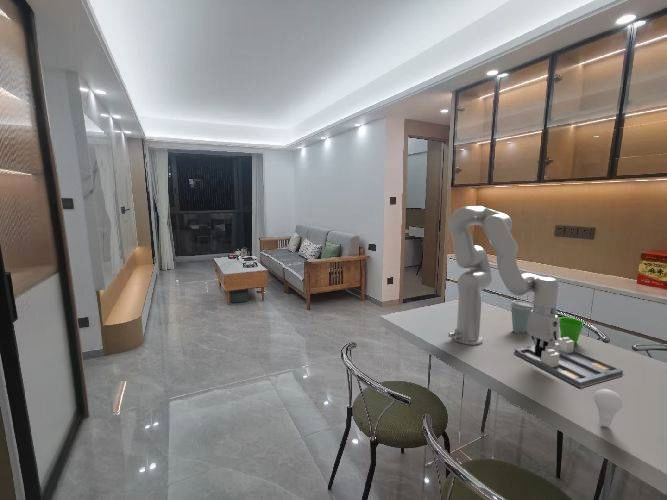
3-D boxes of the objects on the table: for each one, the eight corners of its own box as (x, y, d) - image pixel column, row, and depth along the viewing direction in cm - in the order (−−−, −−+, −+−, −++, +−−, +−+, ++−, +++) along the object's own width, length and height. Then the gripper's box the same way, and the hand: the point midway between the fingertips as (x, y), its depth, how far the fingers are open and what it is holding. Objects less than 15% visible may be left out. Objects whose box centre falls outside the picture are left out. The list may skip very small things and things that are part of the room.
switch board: (579, 389, 113) (580, 382, 112) (514, 355, 137) (514, 349, 136) (621, 377, 120) (622, 370, 120) (553, 346, 144) (553, 341, 144)
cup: (585, 350, 141) (588, 325, 139) (561, 348, 143) (564, 324, 141) (574, 341, 150) (577, 317, 148) (552, 339, 151) (554, 316, 150)
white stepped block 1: (551, 357, 131) (552, 343, 130) (542, 352, 135) (543, 339, 134) (558, 355, 133) (560, 342, 132) (549, 351, 136) (550, 338, 135)
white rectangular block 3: (565, 353, 134) (567, 340, 133) (556, 349, 138) (557, 336, 137) (572, 352, 135) (574, 339, 134) (563, 348, 139) (564, 335, 138)
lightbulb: (585, 419, 98) (589, 385, 96) (604, 418, 98) (609, 384, 96) (603, 434, 92) (609, 397, 90) (624, 433, 92) (630, 396, 90)
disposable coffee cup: (520, 327, 166) (522, 297, 163) (539, 335, 156) (542, 304, 153) (503, 329, 163) (505, 300, 160) (521, 338, 152) (524, 307, 150)
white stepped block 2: (550, 367, 123) (552, 353, 122) (540, 362, 127) (541, 348, 126) (558, 365, 125) (559, 351, 124) (548, 360, 128) (549, 347, 127)
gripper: (570, 314, 121) (565, 362, 124) (533, 302, 135) (529, 345, 138) (555, 317, 118) (550, 365, 121) (519, 305, 132) (515, 348, 135)
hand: (539, 355), depth 130 cm, fingers closed
